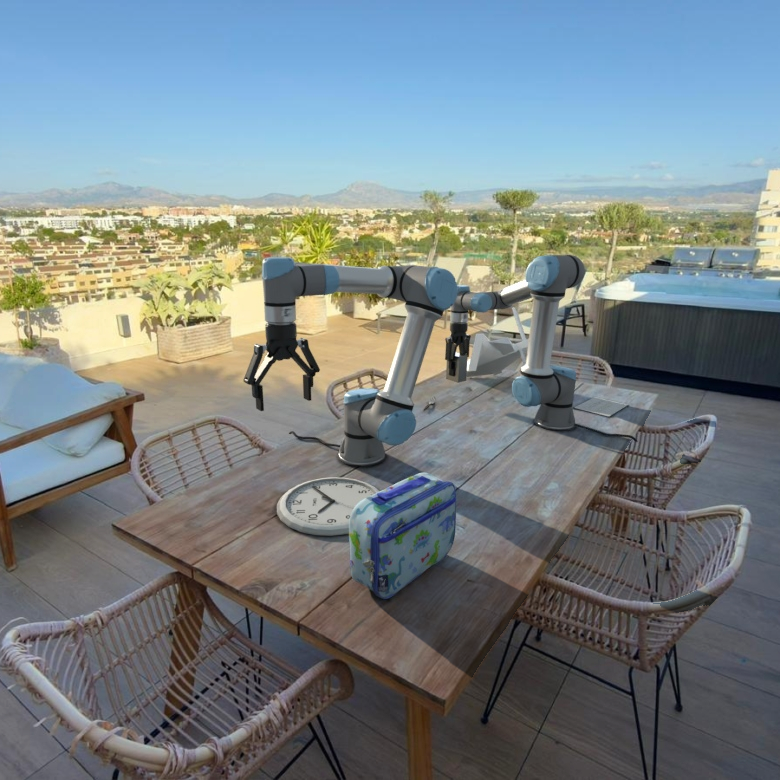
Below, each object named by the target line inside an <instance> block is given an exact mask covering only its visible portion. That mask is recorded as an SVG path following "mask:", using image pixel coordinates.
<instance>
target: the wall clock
mask: <svg viewBox="0 0 780 780" xmlns="http://www.w3.org/2000/svg"><path fill="white" fill-rule="evenodd" d="M380 491H381V490H380V489H379V488H377V487H376V486H374V485H372V484H371V483H369V482H365V481H362V480H359V479H355V478H349V477H338V476H337V477H335V476H333V477H332V476H331V477H322V478H317V479H312V480H307V481H305V482H302V483H299V484H297V485H295V486H293V487H292V488H290V489H288V490H287V491H286V492H285V493H284V494H283V495H281V496H280V498H279V499H278V502H277V503H276V515H277V517H278V518H279V520H280V521H281V522H282V523H283V524H285V525H286V526H287V527H288V528H290V529H293V530H295V531H297V532H299V533H303V534H308V535H312V536H327V537H328V536H329V537H331V536H332V537H333V536H342V535H349V520H350V515H351V513H352V511H353V509H354V507H355V506H356V505H357V504H358V503H359V502H360V501H362V500H363V499H365V498H367V497H370V496H372V495H374V494H376V493H378V492H380Z"/></svg>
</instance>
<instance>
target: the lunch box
mask: <svg viewBox="0 0 780 780" xmlns="http://www.w3.org/2000/svg"><path fill="white" fill-rule="evenodd" d="M456 524H457V489H456V486H455V484H454V483H453V482H452V481H445V480H442V479H440V478H439V477H436V476H434V475H433V474H431V473H429V472H426V471H425V472H424V471H423V472H419V473H416V474H413V475H411V476H409V477H407V478H405V479H403V480H401V481H400V480H399V481H398V482H396V483H395V484H392V485H390V486H388V487H385V488H383V489H382V490H380V492H378V493H376V494H374V495H372V496H370V497H367V498H365V499H363V500H362V501H360V502H359V503H358V504H357V505H356V506H355V507H354V509H353V511H352V513H351V515H350V520H349V534H348V542H349V543H348V544H349V568H350V575H351V577H352V579H353V581H355V582H356V583H359V584H361V585H362V586H364V587H366V588H367V589H369V590H370V591H372V592H373V593H374V595H375V596H377V597H378V598H380V599H384V600H387V599H390V598H392V597H394V596H395V595H396V594H397V593H398V592H400V591H401V590H403V589H404V588H405V587H406V586H407V585H410V584H411V583H412V582H413V581H414V580H416V579H417V578H418V577H419V576H421V575H422V574H423V573H425V571H427V570H428V569H429V568H431V567H433V566H435V565H436V564H438V563H439V562H441V561H442V560H443V559H445V558H446V557H447V556H448V554H449V552H450V551H451V550H452V547H453V545H454V542H455V539H456V538H455V536H456V526H457V525H456Z"/></svg>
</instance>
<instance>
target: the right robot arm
mask: <svg viewBox="0 0 780 780" xmlns="http://www.w3.org/2000/svg"><path fill="white" fill-rule="evenodd" d="M585 274H586V267H585V265H584V263H583V261H582V259H580V258H579V257H578V256H576V255H572V254H545V255H539V256H537V257H535V258H534V259H532V260H531V261H530V262H529V263H528V266H527V268H526V270H525V278H524V280H522V281H519V282H517V283H514V284H511V285H509V286H507V287H504V288H502V289H499V290H495V291H494V290H493V291H482V292H474V291H471V289H470V288H471V287H470V285H465V284H464V285H463V284H457V287H458V293H457V298H456V301H455V303H454V304H453V306H451V307H450V315H449V316H450V318H449V319H450V320H449V321H450V323H449V331H450V336H449V337H445V339H444V340H445V356H444V360H445V361H446V362H447V361H449V375H450V376H455V362H454V358H455V354H456V353H457V349H458V351H459V352H458V353H460V354H464V355H468V358H469V357H470V345H471V344H470V343H471V337H472V336H471V334H467V332H468V327H469V323H468V321H469V311H470V312H471V311H472V312H475V313H483V314H484V313H487V312H489V311H493V310H494V311H495V310H506V309H510V308H512V306H513V305H515V304H519V303H522V302H525V301H528V300H530V299H533V303H532V304H533V305H532V311H531V312H532V313H531V320H530V328H529V335H528V339H529V342H528V350H527V354H526V364H525V365H524V364H523V365H521V367H520V372H519V376H516V377H515V379H513V381H512V383H511V391H512V395H513V397H514V398H515V400H516V402H517V403H518V404H519V405H521V406H523V407H527V408H530V407H538V406H539V407H538V410H537V411H536V413H535V417H534V424H535V425H536V426H537V427H539V428H542V429H544V430H549V431H556V432H567V431H572V430H574V429H575V428H580V429H584V430H587V431H591V432H594V433H597V434H599V435H601V436H604V437H605V436H606V437H620V438H629V439H631V440H633V441H634V442H636V443H638V440H637V438H635V436H633V435H631V434H621V433H606V432H604V431H600V430H597V429H595V428H591V427H588V426H584V425H582V424H578V423H576V418H575V417H576V416H575V413H574V407H573V405H574V398H575V390H576V383H577V372H576V371H575V369H572V368H571V367H570V368H569V367H566V366H561V365H554V364H553V365H552V364H551V362H552V356H553V349H554V348H553V347H554V342H555V334H556V327H557V321H558V314H559V308H560V301H561V300H563V299H564V298H565V296H566V291H567V290H568V289H572V288H575V287H577V286H578V285H580V283H581V282H583V279H584V277H585ZM451 358H452V359H451Z"/></svg>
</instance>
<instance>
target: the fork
mask: <svg viewBox="0 0 780 780" xmlns="http://www.w3.org/2000/svg"><path fill="white" fill-rule="evenodd" d="M436 400H437V397H436V396H432V395H431V396H430V399H429V401H428V404H426V405H425V407H424V409H423V411H422V412H424V411H426V410H428V408H429V407H430V406H431V405H433V404H435V403H436Z"/></svg>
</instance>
